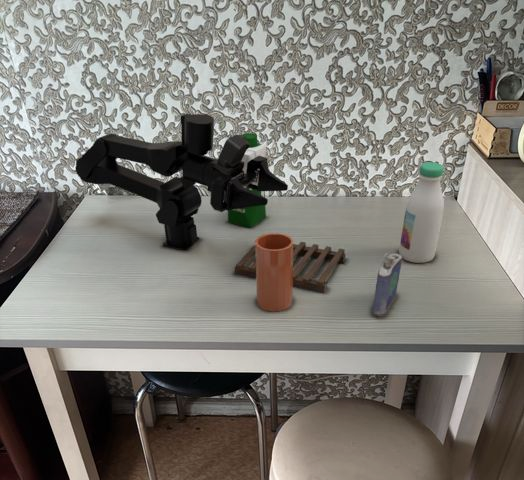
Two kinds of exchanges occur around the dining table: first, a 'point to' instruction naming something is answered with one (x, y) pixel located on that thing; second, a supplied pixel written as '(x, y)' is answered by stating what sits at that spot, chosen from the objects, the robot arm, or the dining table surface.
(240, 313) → the dining table surface
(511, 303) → the dining table surface
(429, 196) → the milk bottle
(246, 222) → the milk carton
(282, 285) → the tumbler
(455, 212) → the dining table surface
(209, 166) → the robot arm
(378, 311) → the flask
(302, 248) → the drying rack
